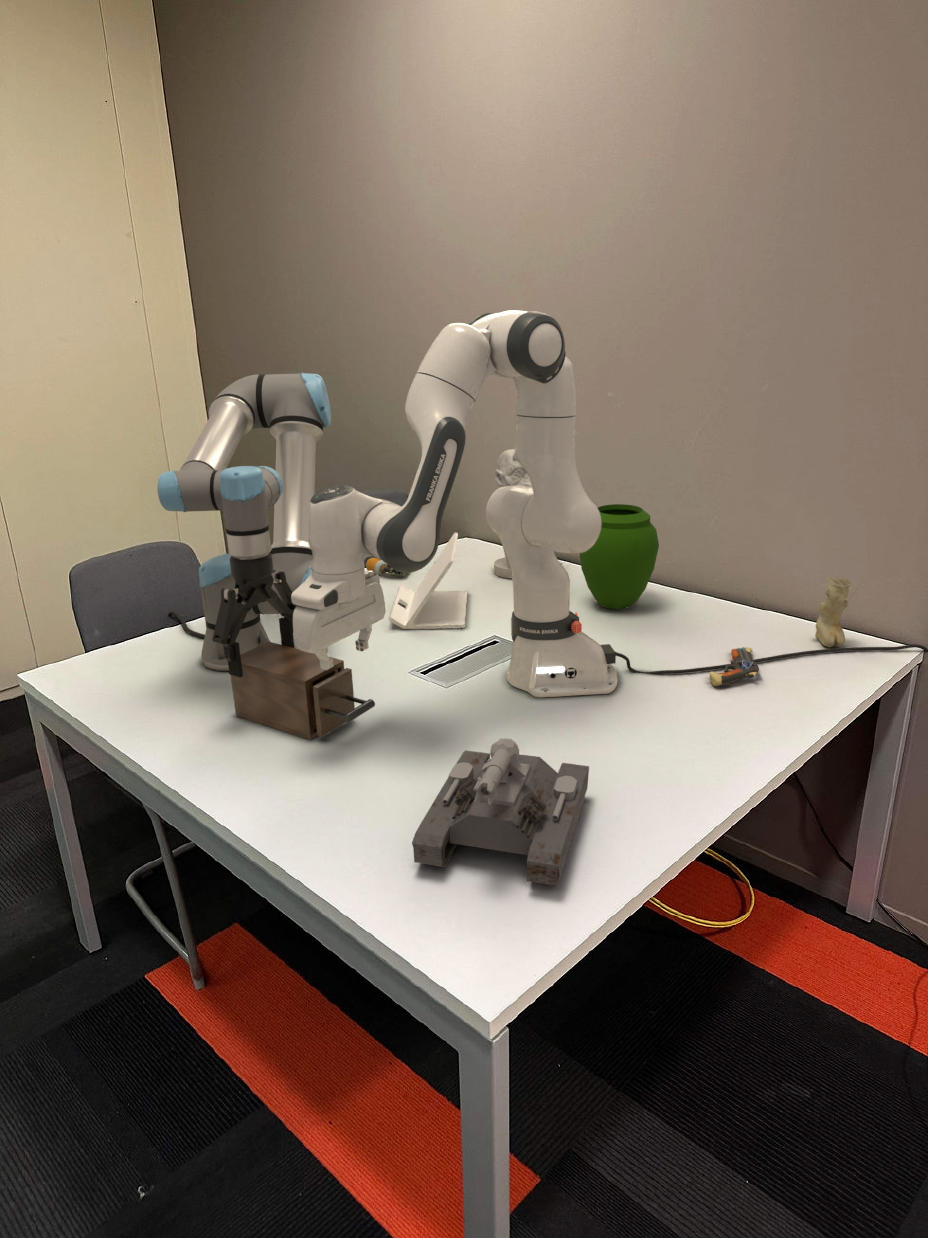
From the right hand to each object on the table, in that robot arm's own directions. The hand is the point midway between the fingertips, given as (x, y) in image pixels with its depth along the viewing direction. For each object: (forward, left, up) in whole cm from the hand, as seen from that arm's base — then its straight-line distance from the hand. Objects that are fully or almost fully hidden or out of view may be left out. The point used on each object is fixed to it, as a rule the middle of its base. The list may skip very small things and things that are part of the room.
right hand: (345, 658), depth 149 cm
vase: (-50, -71, -15) cm, 89 cm away
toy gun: (-72, -33, -15) cm, 81 cm away
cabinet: (+13, -6, -15) cm, 21 cm away
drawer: (+8, -4, -14) cm, 17 cm away
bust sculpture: (-26, -95, -15) cm, 99 cm away
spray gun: (+12, -99, -15) cm, 100 cm away
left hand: (+18, -9, -5) cm, 21 cm away
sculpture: (-95, -48, -15) cm, 108 cm away
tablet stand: (-4, -65, -15) cm, 67 cm away
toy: (-30, +27, -15) cm, 43 cm away
